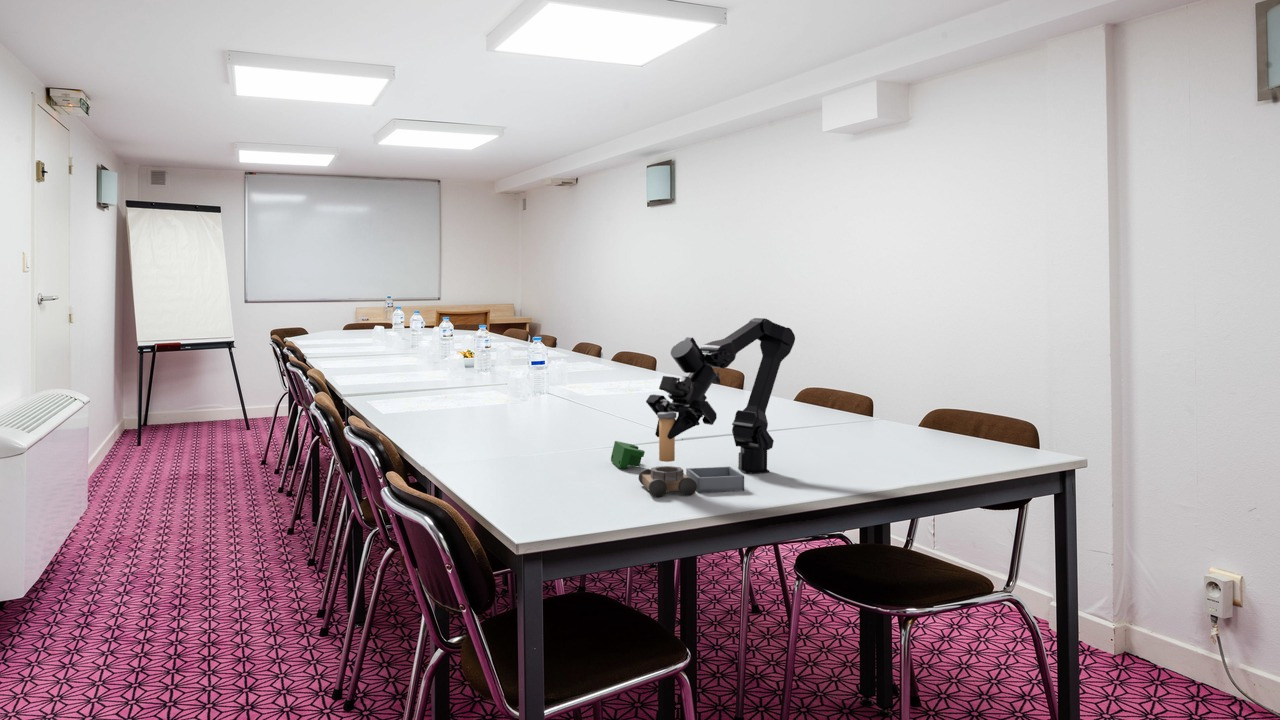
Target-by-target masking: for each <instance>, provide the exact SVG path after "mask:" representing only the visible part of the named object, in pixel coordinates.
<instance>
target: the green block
mask: <svg viewBox="0 0 1280 720" xmlns="http://www.w3.org/2000/svg"><path fill="white" fill-rule="evenodd" d="M612 447H613V448H612V452H611V456H610V462H611V463H612V464H614V466H616V467H617V468H619V469H623V470H627V469H628V467H629V466H631V467H635V466H639V467H640V466H641V465H640V464H641V461H642V458H644V457H645V450H644V449H639V446H638V445H635V444H632V443H627V442H622V441H618V440H614V444H613V446H612Z"/></svg>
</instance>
